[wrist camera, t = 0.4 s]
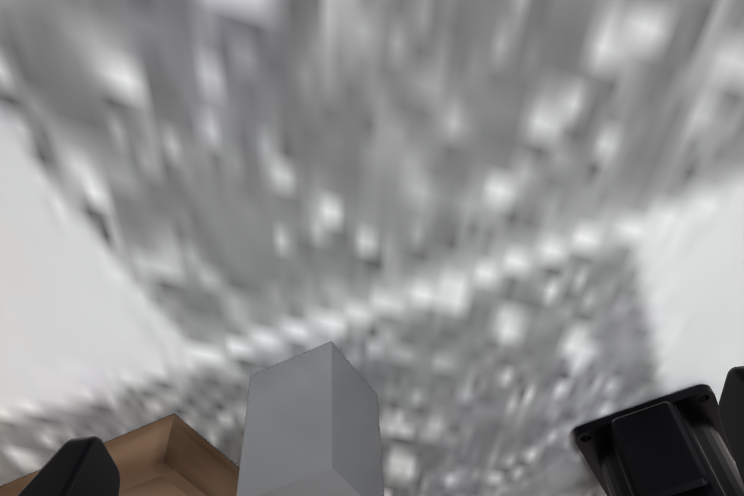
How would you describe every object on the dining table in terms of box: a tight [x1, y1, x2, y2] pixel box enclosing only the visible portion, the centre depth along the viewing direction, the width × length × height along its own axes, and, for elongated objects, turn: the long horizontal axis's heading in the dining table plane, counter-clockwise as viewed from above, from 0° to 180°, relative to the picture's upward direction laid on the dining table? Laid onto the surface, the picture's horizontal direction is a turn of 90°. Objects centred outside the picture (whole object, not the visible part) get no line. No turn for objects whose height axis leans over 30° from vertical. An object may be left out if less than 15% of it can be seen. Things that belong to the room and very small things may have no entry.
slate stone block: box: [236, 341, 384, 496], centre depth 27 cm, size 4×4×6 cm
